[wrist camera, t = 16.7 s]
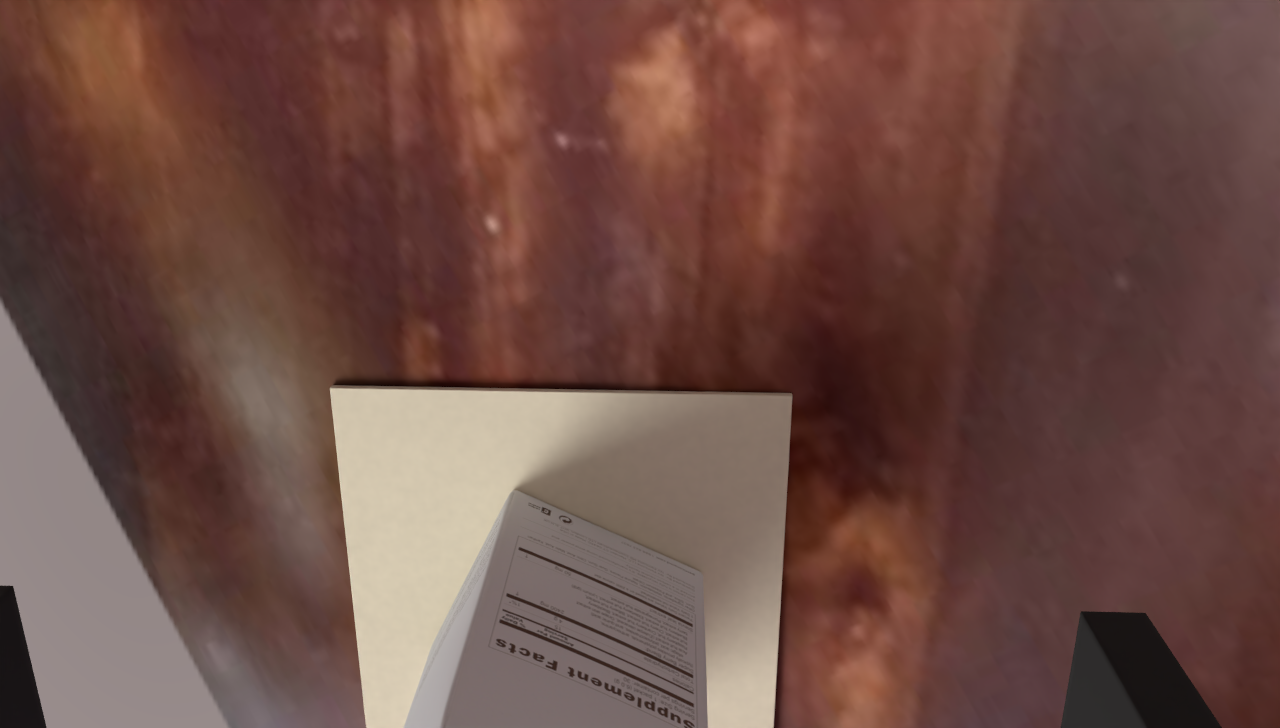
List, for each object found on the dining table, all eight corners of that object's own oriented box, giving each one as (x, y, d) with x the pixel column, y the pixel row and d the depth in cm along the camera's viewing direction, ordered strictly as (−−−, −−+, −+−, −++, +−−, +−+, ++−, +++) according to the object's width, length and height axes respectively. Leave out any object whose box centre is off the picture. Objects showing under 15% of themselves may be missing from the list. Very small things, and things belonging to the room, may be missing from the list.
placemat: (791, 392, 43) (792, 395, 43) (769, 800, 51) (769, 805, 50) (331, 384, 44) (329, 387, 44) (374, 788, 51) (373, 793, 51)
